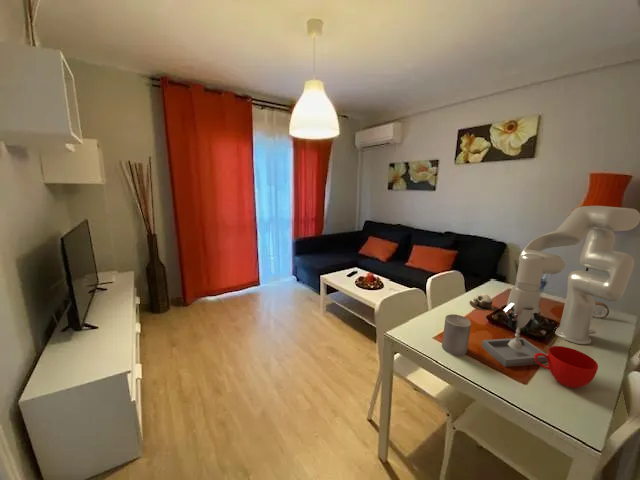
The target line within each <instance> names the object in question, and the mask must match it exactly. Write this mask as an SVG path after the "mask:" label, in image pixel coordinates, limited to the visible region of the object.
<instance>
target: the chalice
mask: <svg viewBox="0 0 640 480" xmlns="http://www.w3.org/2000/svg"><path fill="white" fill-rule="evenodd" d="M533 309H534V308H533ZM531 313H532V310H525V309H522V313H521V314H519V315H518V317H517V319H516V321H517V324H516V329H515V334H514V336H515V337H514V338H515V339H512V340H511V341H510V342H509V343H508V345H509V346H510V347H511V348H514V349H517V350H522V349H523V347H522V343H521V342H520V341H519V340H518V338H521V335H520V333H521V329H523V328H525V325H526V324H527V323H528V322H529V321H530V318H531ZM514 315H515V314H514V313H513V316H514Z"/></svg>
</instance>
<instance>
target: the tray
mask: <svg viewBox="0 0 640 480" xmlns="http://www.w3.org/2000/svg"><path fill="white" fill-rule="evenodd" d="M515 338H516V337H513V338H498V339H497V338H496V339H495V338H494V339H483V340H481V348H482V349H484V350H485V351H486V353H487V352H488V353H489V354H490V355H491V356H492V357H493V358H494V359H496V360H497V361H498V363H500V365H502V366H504V368H506V367H508V368H509V367H519V366H533V365H539V364H538V363H537V362H536V361H535V358H534V356H535V354H537V353H543V354H545V355H547V356H548V353H546V352H544V351H543V350H542V349H540V348H539V347H537V346H535V345H534V344H533V343H531V342H530V341H528V340H527V339H526V338H524V337H519V338H518V340H519V341H520V342H521V343H522V347H523V349H522V350H517V349H514V348H511V347H510V346H509V345H508V343H509V342H510V341H511V340H512V339H515ZM537 360H538V361H539V362H540V363H541V364H543V365H545V364H548V360H547V358H546V357H544V356H538V357H537Z"/></svg>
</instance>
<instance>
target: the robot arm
mask: <svg viewBox="0 0 640 480" xmlns="http://www.w3.org/2000/svg"><path fill="white" fill-rule="evenodd" d="M639 224H640V212H639V211H638V210H637V209H635V208H630V207H629V208H628V207H618V206H617V207H615V206H606V205H589V206H588V205H585V206H584V205H583V206H579V207H577V208H575V209H574V210H573V211H572V212H571V213H570V214H569V215H568V216H567V218H566V219H565V220H564V221H563V222H562V223H561V224H560V225H559V226H558V227H557V228H556V230H553V231H550V232H547V233H545V234H542V235H539V236H537V237H535V238H534V239H532V240H531V241H530V242H528V243H527V245H526V246H525V247H524V248H523V249H522V251H521V252H520V254H519V257H518V260H519V262H518V268H517V272H516V273H517V274H516V279H515V283H514V286H513V287H512V288H511V291H510V293H509V295H508V299H507V303H506V307H505V308H504V309H503V312H504V313H505V315H506V316H507V318H508V322H507V327H509V328H510V329H511V330H513V331H516V330H517V326H516V324H517V321H516V319H517V317H518V315H519V314H521V313H522V309H525V310H532V313H531V318H530V321H529V322H528V323H527V324H526V325H525V326H524V328H527V329H528V330H531V327H532V323H533V320H534V319H535V317H536V316H537V315H538V314H539V313H541V311H542V309H541V308H540V307H539V305H540V297H541V296H540V295H541V293H540V291H541V290H540V288H541V285H542V278H543V275H544V274H545V275H546V274H547V275H557V274H559V273H561V272H562V271H564V269H565V268H566V261H565V259H564V258H563V257H561V256H559V255H557V254H553V253H549V252H545V251H544V250H547V249H552V248H559V247H569V246H575V245H577V244H580V243H581V242H582V241H583V239H584V238H586V239H585V242H584V245H583V247H582V249H581V253H580V256H579V264H580V265H581V266H582V267H584V268H587V269H590V270H594V271H597V272H602V273H604V274H609V276H607V275H604V274H603V275H602V274H600V273H595V272H592V271H589V270H588V271H587V270H583V269H581V270H580V269H579V270H573V271H571V272H570V273H569V274H568V276H567V293H566V299H565V302H564V307H563V311H562V315H561V319H560V323H559V326H557V327H558V328H557V327H556V328H557V329H556V331H555V333H554V334H555V335H556V336H557V337H559V338H561V339H562V340H565V341H567V342H570V343H574V344H577V345H590V344H591V343H592V338H591V337H590V336H589V335H591V334H593V335H595V334H596V333H597V331H596V329H594V328H591V329H590V327H591V323H592V320H593V317H592V316H593V312H594V308H595V300H594V299H595V298H599V299H602V300H604V301H608V302H617V301H620V300H621V298H622V297H623V295H624V293H625V290H626V289H627V286H628V283H629V282H630V278H631V275H632V272H633V271H634V267H635V260H634V258H633V256H632V255H631V254H629V253H626V252H622V251H618V250H613V247H614V245H615V241H616V234H615V233H614V232H623V231H630V230H634V229H635V228H636V227H637V226H638V225H639ZM594 297H595V298H594ZM533 308H534V309H533ZM513 313H514V314H515V315H514V316H513Z"/></svg>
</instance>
